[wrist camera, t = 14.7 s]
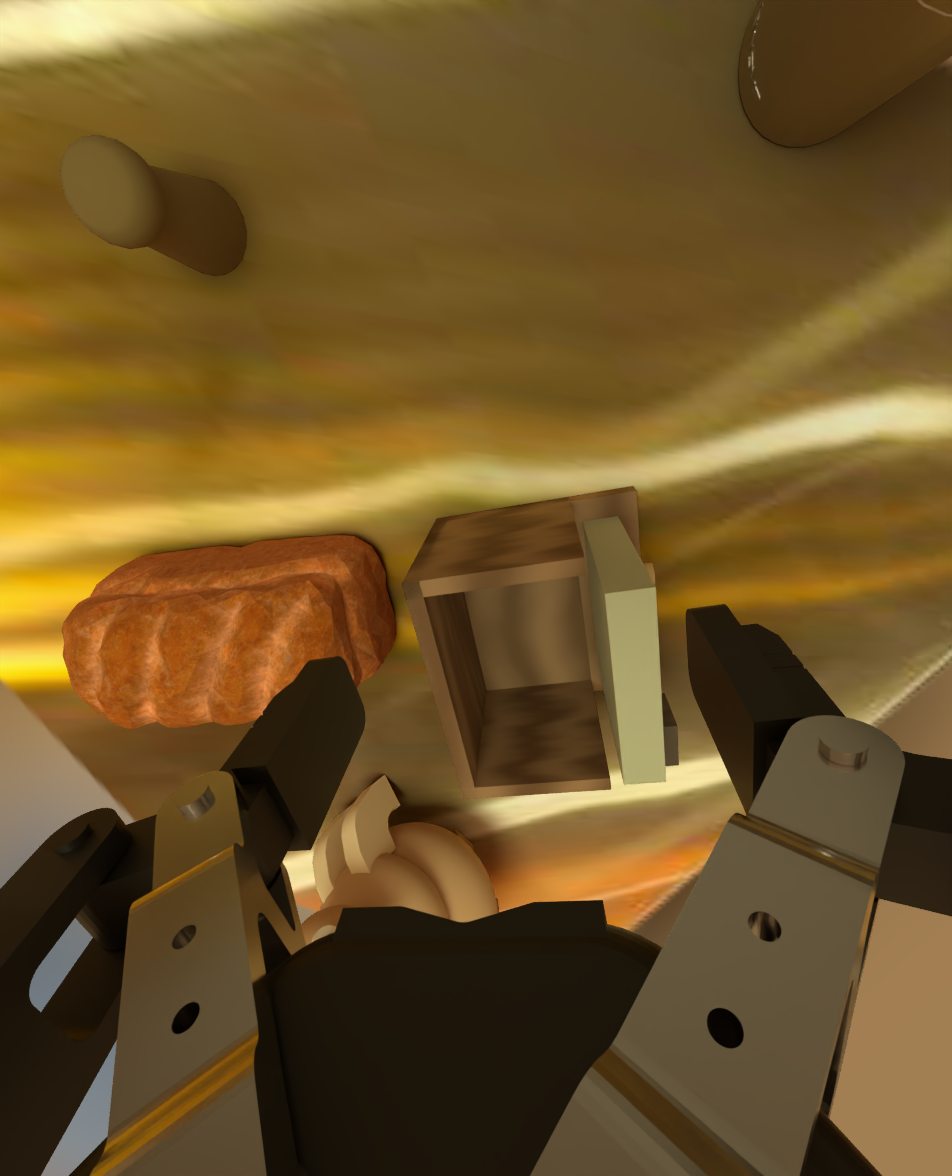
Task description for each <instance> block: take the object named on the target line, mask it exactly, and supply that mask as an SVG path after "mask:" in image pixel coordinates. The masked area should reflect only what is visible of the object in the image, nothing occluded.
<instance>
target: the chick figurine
mask: <svg viewBox="0 0 952 1176" xmlns="http://www.w3.org/2000/svg"><path fill="white" fill-rule="evenodd" d="M399 806H400V804H399V802H398V800H397V798H396V796H395V794H394V792H393V790H392V788H391V786H390V784H389V782H388V780H387V778H386V776H385V775H384V776H382V777H381V778H380V779H378V780H377V781H376V782H375V783H373V784H372V785H371V786H369V787H368V788H367V789H366V790H364V791H363V792H362V793H361V794H360V795H359V797H358V798H357V799H356V801H355V802H354V803H353V804H352V805H351V806H349V807H348V808H347V809H346V810H344V811H343V812H342V813H341V814H339V815H338V816H337V817H335V818H334V819H333V821H332V822H331V823H330V825H329V826H328V827H327V829H326V830H325V831H324V833H323V834H322V835H321V837H320V838H319V839H318V842H317V844H316V847H315V850H314V856H313V869H314V876H315V884H316V888H317V891H318V893H319V895H320V898H321V900H322V906H321V909H320V911H318V912H316V913H314V914H313V915H311V916H310V917H309V918H308V919H306V920H305V921H304V922H303V923H302V924H301V926H302V930H303V934H304V938H305V942H306V945H308V944H310V943H312V942H313V941H315V940H317V939H319V938H322V937H324V936H326V935H328V934H331V933H334V932H335V930H336V927H337V924H338V921H339V918H340V915H341V912H342V909H343V908H356V907H390V906H403V907H407V908H410V909H414V910H418V911H421V912H425V913H428V914H432V915H436V916H439V917H443V918H446V919H450V920H453V921H457V922H469V921H473V920H476V919H480V918H483V917H486V916H490V915H493V914H496V913H499V907H498V899H497V898H496V897H495V893H494V889H493V886H492V883H491V881H490V878H489V876H488V873H487V871H486V869H485V868H484V866H483V864H482V862H481V861H480V859H479V857H478V856H477V855H476V854H475V852H474V849H473V844H472V843H471V842H470V841H469V840H467V839H466V838H465V837H464V836H463V835H462V834H460V833H459V832H458V831H457V830H456V829H454V830H452V831H449V830H447V829H445V828H442V827H439V826H437V825H434V824H430V823H423V822H409V823H403V824H399V825H395V826H392V827H389V828H388V817H389V815H390V813H391V812H392V811H393V810H395V809H396V808H398V807H399Z"/></svg>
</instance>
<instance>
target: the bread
mask: <svg viewBox="0 0 952 1176" xmlns="http://www.w3.org/2000/svg"><path fill="white" fill-rule="evenodd" d="M62 634H63V638H64V649H63V658H64V661H65V664H66V667H67V670H68V674H69V677H70V681H71V685H72V687H73V688H74V690H75V691H76V693H77V694H78V696H79V697H80V699H81V700H82V701H84V702H86V703H87V704H88V705H90V706H91V707H92V708H93V709H94V710H95V711H97V712H98V713H105V715H106V717H107V718H108V719H109V720H110V721H111V722H112V723H113V724H115V725H119V726H122V727H125V728H129V729H134V728H137V727H140V726H143V725H146V724H149V723H153V722H159V723H161V724H162V725H164V726H166V727H168V728H172V727H190V726H194V725H198V724H202V723H206V722H216V723H219V724H223V725H226V726H227V725H234V724H243V723H247V722H250V721H254V720H256V719H258V718H259V716H260V715H263V711H264V709H265V708H266V707H267V705H268V704H269V703H270V701H271V700H272V699H273V697H274V696H275V695H277V694H278V693H279V692H280V691H281V690H283V689H284V688H285V687H286V686H287V685H289V684H290V683H291V682H293V681H294V680H295V678H296V677H297V675H298V674H299V673H300V671H301V670H302V668H303V667H304V666H305V664H306V663H307V662H308V661H309V660H313V659H320V658H327V657H334V656H340V657H342V658H343V659H344V660H345V662H346V664H347V666H348V669H349V671H350V673H351V676H352V678H353V681H354V683H355V686H356V688H357V687H358V685H359V683H360V682H362V681H364V680H366V679H368V678H369V677H371V676H373V674H374V673H375V672H376V671H377V670H378V669H379V667H380V666H381V665H382V663H383V661H384V660H385V658H386V657H387V655H388V653H389V652H390V650H391V648H392V645H393V642H394V639H395V635H396V629H395V620H394V612H393V608H392V605H391V602H390V598H389V595H388V592H387V588H386V572H385V570H384V568H383V566H382V563H381V561H380V559H379V557H378V555H377V554H376V552H375V551H374V549H373V548H372V546H370V545H369V544H367V543H365V542H364V541H362V540H360V539H358V538H357V537H355V536H345V535H329V536H319V537H303V538H291V539H280V540H268V541H258V542H255V543H253V544H250V545H247V546H244V547H241V548H240V547H233V546H215V547H204V548H197V549H190V550H183V551H175V552H168V553H160V554H152V555H145V556H140V557H138V558H136V559H134V560H132V561H131V562H129V563H127V564H125V565H123V566H121V567H119V568H117V569H116V570H115V571H114V572H112V573H111V574H110V575H108V576H107V577H106V578H105V579H103V580H102V581H101V582H99V583H98V584H97V585H96V587H95V589H94V590H93V592H92V594H91V596H90V597H89V598H87V599H85V600H83V601H81V602H79V603H78V604H77V605H76V606H75V607H74V609H73V610H72V611H71V613H70V614H69V616H68V617H67V618H66V620H65V621H64V623H63V627H62Z"/></svg>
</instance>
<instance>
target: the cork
mask: <svg viewBox="0 0 952 1176" xmlns="http://www.w3.org/2000/svg"><path fill="white" fill-rule="evenodd" d="M60 172H61V181H62V187H63V190H64V193H65V196H66V199H67V201H68V203H69V205H70V206H71V208H72V210H73V211H74V213H75V214H76V216H77V217H78V219H79V220H80V221H81V222H82V223H83V224H84V225H85V226H86V227H87V228H88V229H89V230H90V232H92V233H94V234H95V235H97V236H98V237H100V238H101V239H103V240H105V241H106V242H108V243H109V244H112V245H116V246H120V247H124V248H128V249H134V248H142V247H147V246H148V247H150V248H152V249H154V250H156V251H158V252H160V253H162V254H164V255H166V256H168V257H170V258H172V259H175V260H177V261H179V262H181V263H183V264H185V265H187V266H189V267H191V268H193V269H195V270H197V271H199V272H201V273H205V274H208V275H212V276H218V275H225V274H227V273H229V272H230V271H232V270H234V269H235V268H236V267H237V265H238V264H239V263H240V261H241V260H242V258H243V255H244V252H245V249H246V228H245V223H244V219H243V215H242V213H241V211H240V209H239V207H238V205H237V203H236V202H235V200H234V199H233V198H232V197H231V196H230V195H229V193H228V192H227V191H226V190H225V189H224V188H222V187H221V186H219V185H218V184H216V183H215V182H213V181H209V180H205V179H201V178H198V177H194V176H190V175H186V174H182V173H178V172H174V171H170V170H166V169H162V168H158V167H154V166H150V165H148V164H147V163H146V162H145V160H144V159H143V158H142V157H141V156H140V155H139V154H138V153H137V152H135V151H134V150H132V149H131V148H129V147H128V146H126V145H125V144H123V143H121V142H119V141H117V140H116V139H112V138H108V137H104V136H100V135H91V136H84V137H81V138H79V139H78V140H77V141H75V142H74V143H73V144H71V145H70V146H69V147H68V148H67V150H66V152H65V154H64V156H63V158H62V164H61V171H60Z"/></svg>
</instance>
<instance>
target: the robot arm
mask: <svg viewBox="0 0 952 1176" xmlns="http://www.w3.org/2000/svg"><path fill="white" fill-rule="evenodd" d="M951 56H952V0H760V2H759V3H758V5H757V7H756V8H755V11H754V13H753V15H752V18H751V20H750V22H749V25H748V27H747V30H746V33H745V37H744V41H743V45H742V48H741V53H740V63H739V73H738V74H739V88H740V95H741V99H742V103H743V106H744V110H745V112H746V114H747V116H748V118H749V120H750V121H751V123H752V125H753V126H754V127H755V128H756V129H757V130H758V131H759V133H760V134H761V135H762V136H764V137H765V138H767V139H769V140H770V141H772V142H774V143H775V144H779V145H783V146H788V147H806V146H810V145H813V144H817V143H821V142H823V141H825V140H827V139H829V138H831V137H833V136H835V135H837V134H839V133H840V132H842V131H843V130H845V129H846V128H848V127H849V126H850V125H852V124H853V123H855V122H856V121H858V120H859V119H861V118H862V117H863V116H865V115H866V114H868V113H869V112H871V111H872V110H874V109H875V108H877V107H878V106H880V105H881V104H883V103H884V102H886V101H887V100H889V99H890V98H891V97H893V96H894V95H896V94H897V93H899V92H900V91H902V90H903V89H905V88H906V87H907V86H909V85H910V84H912V83H913V82H915V81H916V80H918V79H919V78H921V77H922V76H923V75H925V74H926V73H928V72H929V71H931V70H932V69H934V68H935V67H937V66H938V65H939V64H941V63H942V62H944V61H945V60H947V59H948V58H950V57H951ZM686 632H687V651H688V669H689V677H690V682H691V687H692V690H693V694H694V696H695V699H696V701H697V704H698V706H699V708H700V710H701V713H702V715H703V717H704V719H705V722H706V724H707V726H708V728H709V731H710V733H711V735H712V737H713V740H714V742H715V744H716V746H717V749H718V751H719V753H720V755H721V758H722V760H723V762H724V765H725V767H726V769H727V771H728V774H729V776H730V778H731V780H732V783H733V785H734V787H735V789H736V792H737V794H738V796H739V798H740V801H741V803H742V805H743V807H744V810H745V812H746V814H747V815H746V816H744V815H741V814H739V813H735V814H734V815H733V816H732V817H731V818H730V819H729V821H728V822H727V824H726V826H725V828H724V830H723V831H722V833H721V835H720V837H719V839H718V841H717V843H716V845H715V847H714V849H713V851H712V853H711V855H710V857H709V859H708V861H707V862H706V864H705V866H704V868H703V870H702V872H701V874H700V876H699V878H698V880H697V882H696V884H695V886H694V888H693V890H692V892H691V893H690V896H689V897H688V899H687V901H686V903H685V905H684V907H683V909H682V911H681V913H680V915H679V917H678V919H677V921H676V922H675V925H674V926H673V928H672V930H671V932H670V934H669V936H668V938H667V940H666V942H665V944H664V946H663V948H662V947H660V946H659V945H657V944H656V943H653V942H652V941H650V940H648V939H646V938H644V937H643V936H641V935H638V934H636V933H633V932H631V931H628V930H626V929H623V928H620V927H616V926H613V925H609V924H607V921H606V915H605V910H604V905H603V900H593V901H559V902H533V903H530V904H526V905H523V906H520V907H516V908H513V909H510V910H506V911H503V912H500V913H496V914H493V915H490V916H486V917H483V918H480V919H476V920H473V921H469V922H457V921H453V920H450V919H446V918H443V917H439V916H436V915H432V914H428V913H425V912H421V911H418V910H414V909H410V908H407V907H403V906H390V907H356V908H343V909H342V912H341V915H340V918H339V921H338V924H337V927H336V930H335V932H334V933H331V934H328V935H326V936H324V937H322V938H319V939H317V940H315V941H313V942H312V943H310V944H308V945H306V942H305V938H304V934H303V930H302V926H301V923H300V919H299V915H298V911H297V907H296V903H295V899H294V895H293V891H292V887H291V883H290V879H289V876H288V872H287V869H286V868H285V866H284V864H283V862H282V861H283V859H284V857H285V855H286V853H287V851H300V850H311V848H312V846H313V844H314V842H315V839H316V837H317V835H318V832H319V830H320V828H321V826H322V823H323V821H324V819H325V817H326V814H327V812H328V810H329V808H330V805H331V803H332V801H333V799H334V796H335V794H336V792H337V790H338V787H339V785H340V783H341V780H342V778H343V776H344V774H345V771H346V769H347V767H348V765H349V762H350V760H351V758H352V756H353V753H354V751H355V749H356V747H357V744H358V742H359V740H360V738H361V735H362V733H363V730H364V726H365V711H364V706H363V703H362V701H361V698H360V696H359V693H358V691H357V688H356V686H355V683H354V681H353V678H352V676H351V673H350V671H349V669H348V666H347V664H346V662H345V660H344V659H343V658H342V657H340V656H334V657H327V658H320V659H313V660H309V661H308V662H307V663H306V664H305V666H304V667H303V668H302V670H301V671H300V673H299V674H298V675H297V677H296V678H295V680H294V681H293V682H291V683H290V684H289V685H287V686H286V687H285V688H284V689H283V690H281V691H280V692H279V693H278V694H277V695H275V696H274V697H273V699H272V700H271V701H270V703H269V704H268V705H267V707H266V708H265V709H264V711H263V715H260V716H259V718H258V719H257V720H256V722H255V723H254V724H253V728H251V729H250V730H249V731H248V733H247V734H246V735H245V737H244V738H243V739H242V741H241V742H240V743H239V745H238V746H237V748H236V749H235V750H234V752H233V753H232V754H231V756H230V757H229V758H228V760H227V761H226V762H225V764H224V765H223V767H222V768H221V769H220V771H216V772H210V773H206V774H204V775H201V776H199V777H197V778H194V779H193V780H191V781H189V782H187V783H186V784H184V785H183V786H181V787H180V788H179V789H177V790H176V791H175V792H174V793H173V794H172V795H171V796H170V797H169V798H168V799H167V800H166V801H165V802H164V804H163V805H162V806H161V808H160V810H159V811H158V814H157V815H154V816H151V817H148V818H145V819H142V820H139V821H136V822H133V823H131V824H128V825H125V824H124V822H123V821H122V820H121V818H120V817H119V816H118V814H117V813H116V812H115V810H113V809H110V808H101V809H96V810H93V811H90V812H87V813H85V814H83V815H81V816H79V817H77V818H75V819H73V820H72V821H70V822H68V823H67V824H65V825H64V826H62V827H61V828H60V829H58V830H57V831H56V832H55V833H53V834H52V835H51V836H50V837H49V838H48V839H47V840H46V841H45V842H44V843H43V844H42V845H41V846H40V847H39V848H38V849H37V850H36V851H35V852H34V854H32V856H31V857H30V858H29V859H28V860H27V861H26V862H25V863H24V864H23V865H22V866H21V868H19V870H18V871H17V872H16V873H15V874H14V875H13V876H12V877H11V878H10V879H9V880H8V881H7V883H6V884H5V885H4V886H3V887H2V888H1V889H0V1176H41V1174H42V1172H43V1170H44V1169H45V1167H46V1165H47V1163H48V1162H49V1160H50V1158H51V1156H52V1154H53V1153H54V1151H55V1149H56V1147H57V1145H58V1144H59V1142H60V1140H61V1138H62V1136H63V1135H64V1133H65V1131H66V1129H67V1127H68V1126H69V1124H70V1122H71V1120H72V1119H73V1117H74V1115H75V1113H76V1111H77V1110H78V1108H79V1106H80V1104H81V1102H82V1101H83V1099H84V1097H85V1095H86V1093H87V1092H88V1090H89V1088H90V1086H91V1085H92V1083H93V1081H94V1079H95V1077H96V1076H97V1074H98V1072H99V1070H100V1068H101V1067H102V1065H103V1063H104V1061H105V1059H106V1058H107V1056H108V1054H109V1052H110V1051H111V1049H112V1047H113V1045H114V1043H115V1042H116V1040H117V1043H116V1054H115V1065H114V1076H113V1086H112V1097H111V1106H110V1107H111V1108H110V1117H109V1127H108V1136H107V1137H106V1139H105V1140H104V1141H103V1142H102V1143H101V1144H100V1145H99V1146H98V1147H97V1148H96V1149H95V1150H94V1151H93V1152H92V1153H91V1154H90V1155H89V1156H88V1157H87V1158H86V1159H85V1160H84V1161H83V1162H82V1163H81V1164H80V1165H79V1166H78V1167H77V1168H76V1169H75V1170H74V1171H73V1172H72V1173H71V1174H70V1175H69V1176H882V1175H881V1174H880V1173H879V1172H878V1171H877V1170H876V1169H875V1167H874V1166H873V1165H872V1164H871V1163H870V1162H869V1161H868V1160H867V1159H866V1158H865V1157H864V1156H863V1155H862V1154H861V1152H860V1151H859V1150H858V1149H857V1148H856V1147H855V1146H854V1145H853V1144H852V1143H851V1142H850V1140H849V1139H848V1138H847V1137H846V1136H845V1135H844V1134H843V1133H842V1132H841V1131H840V1130H839V1129H838V1127H837V1126H835V1124H834V1123H833V1122H832V1121H831V1120H830V1119H829V1118H830V1114H831V1110H832V1106H833V1101H834V1097H835V1093H836V1088H837V1084H838V1080H839V1076H840V1072H841V1067H842V1063H843V1058H844V1054H845V1049H846V1045H847V1040H848V1035H849V1030H850V1025H851V1021H852V1016H853V1011H854V1006H855V1003H856V998H857V994H858V989H859V985H860V981H861V977H862V973H863V968H864V964H865V960H866V955H867V951H868V947H869V943H870V939H871V935H872V930H873V926H874V922H875V917H876V913H877V909H878V905H879V901H880V899H884V900H887V901H892V902H896V903H899V904H904V905H908V906H912V907H916V908H920V909H924V910H928V911H932V912H936V913H940V914H944V915H948V916H952V759H945V758H938V757H930V756H923V755H918V754H912V753H908V752H904V751H901V749H900V747H899V746H898V745H897V743H896V742H895V741H894V740H893V739H891V738H890V737H889V736H888V735H886V734H885V733H883V732H882V731H881V730H879V729H877V728H875V727H873V726H871V725H869V724H866V723H864V722H861V721H858V720H855V719H851V718H846V717H845V716H844V714H843V713H842V712H841V711H840V709H839V708H838V707H837V706H836V705H835V703H834V702H833V701H832V700H831V698H830V697H829V696H828V695H827V694H826V692H825V691H824V690H823V689H822V687H821V686H820V685H819V684H818V683H817V681H816V680H815V679H814V678H813V676H812V675H811V674H810V673H809V672H808V670H807V669H804V667H803V664H802V663H801V662H800V661H799V659H798V658H797V657H796V656H795V655H793V654H792V651H791V650H790V648H789V647H788V646H787V645H786V644H785V642H784V641H783V640H782V639H781V637H780V636H779V635H777V634H775V633H773V632H771V631H770V630H768V629H766V628H764V627H762V626H760V625H759V624H750V625H742V626H741V625H740V623H739V622H738V621H737V619H736V618H735V617H734V615H733V614H732V612H731V611H730V610H729V608H728V607H727V606H726V605H725V604H721V605H714V606H706V607H699V608H692V609H687V611H686ZM74 918H76V919H77V920H78V921H79V922H80V924H81V925H82V926H83V927H84V928H85V929H86V930H87V931H88V932H89V933H90V934H91V936H92V937H93V938H92V940H91V941H90V943H89V944H88V946H87V947H86V949H85V950H84V951H83V953H82V954H81V956H80V957H79V958H78V960H77V962H76V963H75V964H74V966H73V967H72V969H71V970H70V971H69V973H68V974H67V976H66V977H65V979H64V980H63V982H62V983H61V984H60V986H59V987H58V989H57V990H56V992H55V993H54V995H53V996H52V997H51V999H50V1000H49V1002H48V1003H47V1004H46V1006H45V1007H44V1009H43V1010H42V1012H40V1011H38V1010H37V1009H36V1008H35V1007H34V1006H33V1005H32V1003H31V1001H30V998H29V988H30V983H31V980H32V978H33V975H34V973H35V971H36V969H37V968H38V966H39V965H40V964H41V962H42V961H43V960H44V958H45V957H46V956H47V954H48V953H49V952H50V950H51V949H52V948H53V946H54V945H55V944H56V942H57V941H58V940H59V938H60V937H61V936H62V934H63V933H64V932H65V930H66V929H67V928H68V926H69V925H70V924H71V922H72V921H73V920H74Z"/></svg>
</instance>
